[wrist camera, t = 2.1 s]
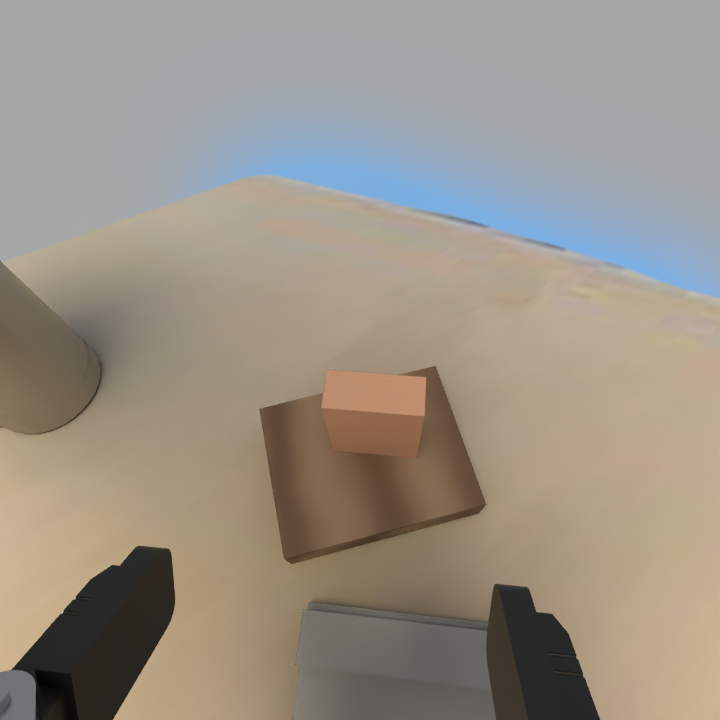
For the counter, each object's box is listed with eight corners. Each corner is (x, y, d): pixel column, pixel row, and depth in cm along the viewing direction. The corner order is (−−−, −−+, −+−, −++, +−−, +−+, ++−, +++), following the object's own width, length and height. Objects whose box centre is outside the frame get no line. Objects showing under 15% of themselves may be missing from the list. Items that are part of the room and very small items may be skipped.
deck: (291, 563, 35) (284, 558, 33) (267, 423, 40) (259, 409, 38) (478, 513, 36) (485, 504, 34) (432, 382, 41) (435, 365, 39)
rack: (282, 811, 29) (272, 830, 26) (310, 602, 34) (304, 600, 31) (546, 851, 28) (563, 876, 25) (534, 628, 33) (547, 628, 30)
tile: (333, 450, 36) (321, 407, 29) (337, 418, 37) (326, 369, 30) (416, 457, 35) (424, 416, 28) (418, 425, 37) (426, 377, 30)
